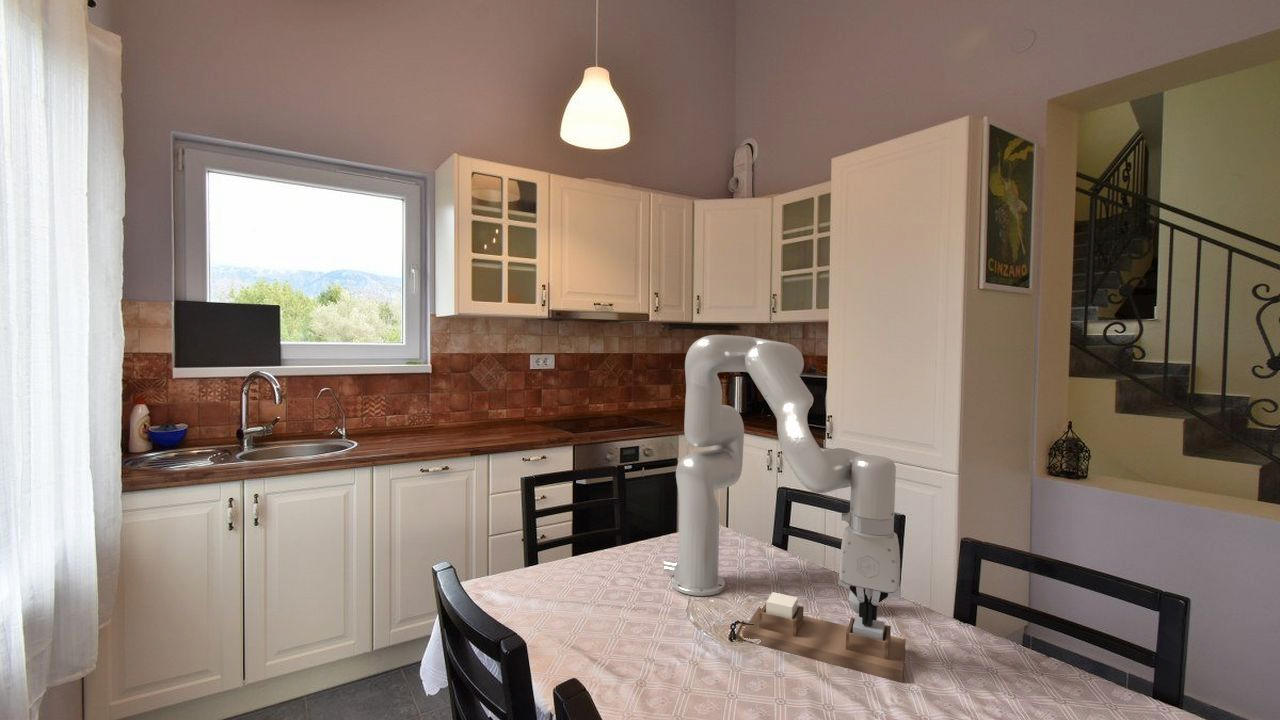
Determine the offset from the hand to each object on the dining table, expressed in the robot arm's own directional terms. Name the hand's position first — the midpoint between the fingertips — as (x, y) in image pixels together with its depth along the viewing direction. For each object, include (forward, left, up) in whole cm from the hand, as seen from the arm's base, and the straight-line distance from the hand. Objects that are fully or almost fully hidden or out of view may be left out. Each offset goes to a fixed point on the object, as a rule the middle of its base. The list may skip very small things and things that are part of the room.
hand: (867, 622), depth 105 cm
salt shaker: (-3, +19, -7) cm, 21 cm away
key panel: (-8, 0, -6) cm, 10 cm away
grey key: (0, 0, -3) cm, 3 cm away
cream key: (-16, 0, -2) cm, 16 cm away
